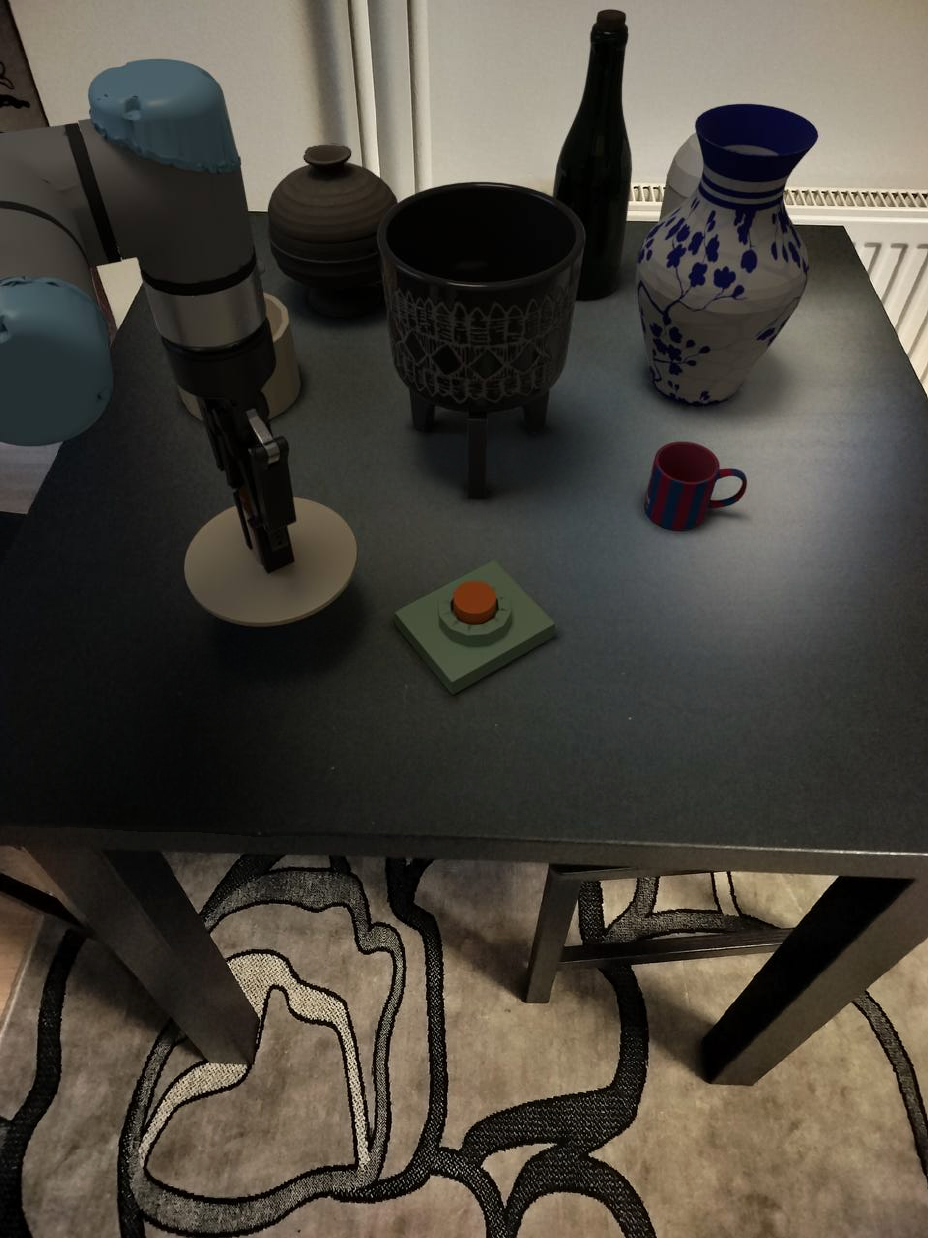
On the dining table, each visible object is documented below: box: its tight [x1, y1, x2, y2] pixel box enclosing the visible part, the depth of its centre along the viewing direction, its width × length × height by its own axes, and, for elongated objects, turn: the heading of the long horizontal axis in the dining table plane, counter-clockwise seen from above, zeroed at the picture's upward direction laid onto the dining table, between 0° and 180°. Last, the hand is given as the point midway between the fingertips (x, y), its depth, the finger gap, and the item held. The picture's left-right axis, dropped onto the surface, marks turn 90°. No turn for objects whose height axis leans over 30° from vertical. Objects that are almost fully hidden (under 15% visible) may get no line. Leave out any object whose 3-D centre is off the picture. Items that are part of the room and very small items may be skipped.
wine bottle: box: [552, 8, 633, 300], centre depth 110 cm, size 10×10×33 cm
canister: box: [176, 291, 302, 422], centre depth 104 cm, size 15×15×10 cm
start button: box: [453, 581, 496, 625], centre depth 81 cm, size 4×4×2 cm
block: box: [394, 559, 556, 696], centre depth 83 cm, size 12×10×4 cm
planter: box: [377, 181, 586, 500], centre depth 91 cm, size 20×20×26 cm
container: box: [658, 132, 703, 222], centre depth 117 cm, size 14×13×20 cm
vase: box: [635, 103, 819, 408], centre depth 97 cm, size 19×19×30 cm
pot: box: [266, 142, 399, 318], centre depth 113 cm, size 18×18×20 cm
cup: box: [643, 441, 748, 531], centre depth 92 cm, size 7×10×7 cm
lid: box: [183, 484, 358, 627], centre depth 76 cm, size 16×16×9 cm
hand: (270, 552), depth 78 cm, fingers closed on lid, 3 cm apart
